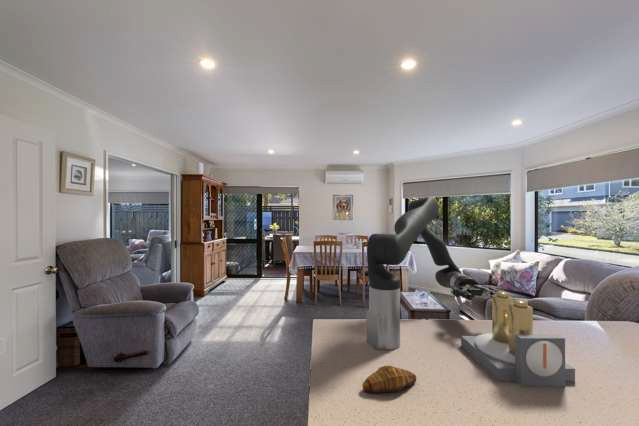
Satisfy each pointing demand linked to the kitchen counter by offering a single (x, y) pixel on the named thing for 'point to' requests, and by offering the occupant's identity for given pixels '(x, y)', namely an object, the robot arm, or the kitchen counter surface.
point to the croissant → (388, 380)
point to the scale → (523, 359)
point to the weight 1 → (501, 316)
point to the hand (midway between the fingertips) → (484, 298)
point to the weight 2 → (519, 321)
